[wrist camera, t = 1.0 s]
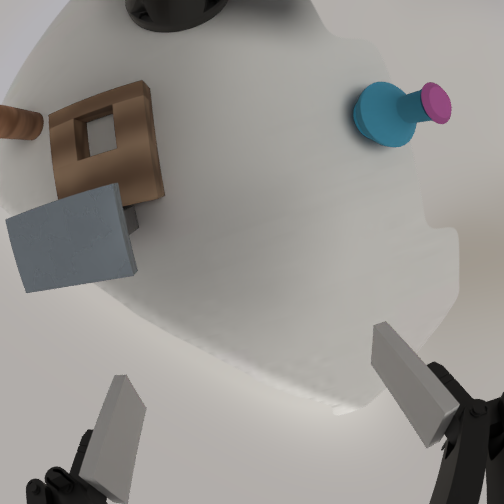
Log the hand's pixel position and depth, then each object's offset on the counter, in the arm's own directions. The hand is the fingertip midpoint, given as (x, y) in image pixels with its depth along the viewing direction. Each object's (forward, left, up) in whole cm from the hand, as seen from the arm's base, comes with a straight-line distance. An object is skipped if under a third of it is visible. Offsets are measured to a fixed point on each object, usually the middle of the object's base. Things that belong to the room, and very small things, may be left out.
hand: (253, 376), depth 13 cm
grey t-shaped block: (-7, -14, -26) cm, 30 cm away
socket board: (-16, -15, -26) cm, 33 cm away
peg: (-24, -28, -26) cm, 45 cm away
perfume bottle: (-15, +23, -26) cm, 38 cm away
